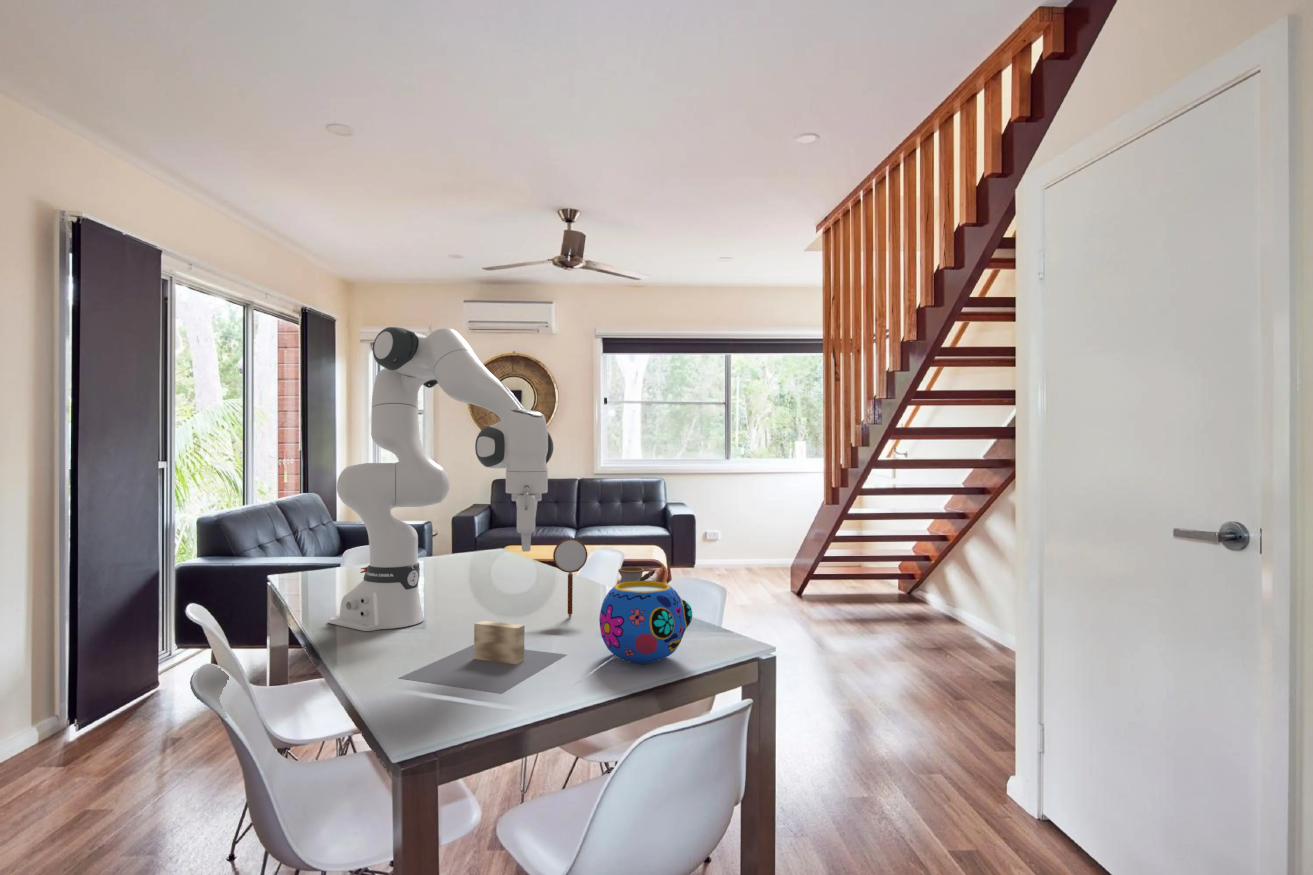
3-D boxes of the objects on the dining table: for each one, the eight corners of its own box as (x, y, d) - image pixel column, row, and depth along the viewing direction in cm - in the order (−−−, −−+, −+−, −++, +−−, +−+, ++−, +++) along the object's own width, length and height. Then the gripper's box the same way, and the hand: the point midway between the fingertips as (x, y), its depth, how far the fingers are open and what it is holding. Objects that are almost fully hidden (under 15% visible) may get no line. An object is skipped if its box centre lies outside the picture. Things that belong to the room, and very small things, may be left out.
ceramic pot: (660, 680, 127) (660, 598, 127) (581, 665, 136) (581, 588, 136) (700, 655, 142) (701, 582, 142) (627, 643, 151) (628, 574, 151)
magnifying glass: (552, 619, 172) (553, 539, 172) (552, 617, 174) (553, 538, 174) (587, 617, 174) (587, 538, 174) (586, 615, 175) (587, 537, 176)
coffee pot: (602, 617, 174) (602, 558, 174) (644, 613, 178) (645, 555, 178) (630, 639, 154) (630, 572, 154) (677, 634, 158) (677, 569, 159)
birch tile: (474, 658, 137) (474, 623, 137) (481, 654, 140) (482, 620, 140) (517, 664, 134) (517, 628, 134) (524, 660, 136) (525, 624, 136)
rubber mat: (398, 681, 125) (398, 677, 125) (476, 646, 148) (476, 643, 148) (501, 696, 118) (501, 693, 118) (567, 657, 140) (567, 654, 140)
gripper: (542, 487, 137) (541, 556, 137) (541, 482, 157) (540, 542, 157) (510, 487, 136) (509, 557, 136) (512, 482, 156) (512, 543, 156)
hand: (526, 549), depth 146 cm, fingers open, 3 cm apart
